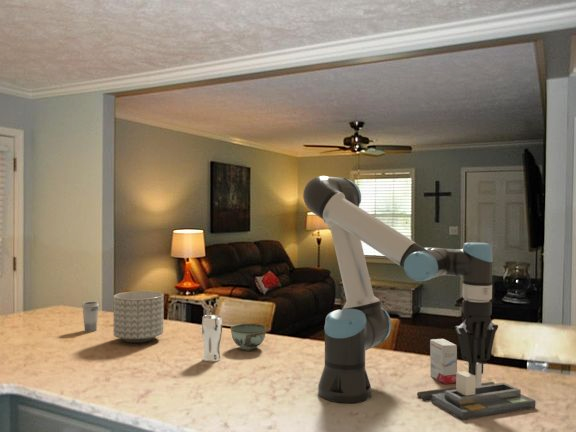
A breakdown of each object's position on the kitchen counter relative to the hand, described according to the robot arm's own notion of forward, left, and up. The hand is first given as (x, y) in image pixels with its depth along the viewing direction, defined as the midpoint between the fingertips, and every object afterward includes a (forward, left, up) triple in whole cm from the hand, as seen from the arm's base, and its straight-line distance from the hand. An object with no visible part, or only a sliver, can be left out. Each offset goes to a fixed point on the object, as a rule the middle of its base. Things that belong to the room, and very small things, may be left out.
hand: (475, 386), depth 140 cm
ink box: (+5, +21, -6) cm, 22 cm away
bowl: (-43, +74, -6) cm, 86 cm away
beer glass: (-59, +65, -6) cm, 88 cm away
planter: (-81, +99, -6) cm, 128 cm away
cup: (-99, +122, -6) cm, 157 cm away
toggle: (-3, 0, -3) cm, 5 cm away
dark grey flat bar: (+2, +9, -5) cm, 11 cm away
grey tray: (+2, 0, -5) cm, 6 cm away
